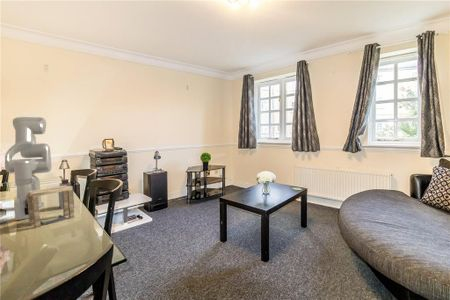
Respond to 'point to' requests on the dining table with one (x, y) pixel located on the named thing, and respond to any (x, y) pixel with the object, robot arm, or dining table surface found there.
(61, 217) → the seat guides
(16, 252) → the dining table surface
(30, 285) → the dining table surface
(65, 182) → the beige rectangular block
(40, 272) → the dining table surface
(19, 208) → the photo printer
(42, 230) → the dining table surface
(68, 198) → the wooden display stand
